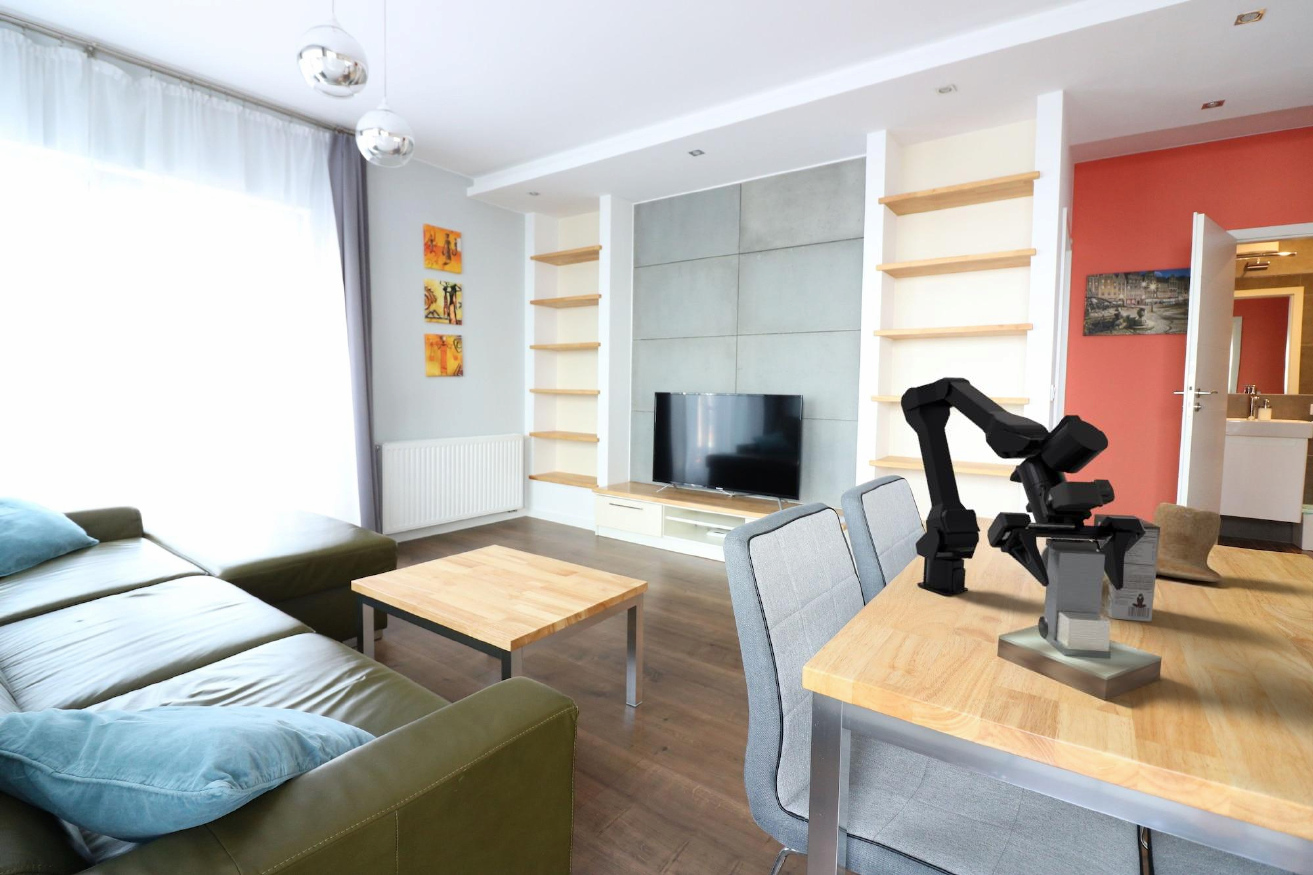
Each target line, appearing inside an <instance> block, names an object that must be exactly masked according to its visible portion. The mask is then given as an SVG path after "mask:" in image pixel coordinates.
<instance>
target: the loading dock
mask: <svg viewBox="0 0 1313 875" xmlns="http://www.w3.org/2000/svg"><path fill="white" fill-rule="evenodd" d="M997 643H998V644H997V657H1000V658H1001V659H1004V660H1006V661H1010V662H1011V663H1014V664H1016V665H1019V666H1021V667H1024V668H1026V669H1027V670H1031V671H1033V672H1036V673H1038V674H1041V675H1042V676H1045V677H1048V678H1049V679H1052V680H1055V681H1057V682H1060V683H1062V684H1065V685H1066V686H1069V687H1071V688H1074V689H1077V690H1078V691H1081V692H1083V693H1086V694H1088V695H1091V696H1093V697H1096V698H1098V699H1101V700H1103V701H1108V700H1109V699H1113V698H1115V697H1117V696H1119V695H1122V694H1125V693H1127V692H1130V691H1132V690H1133V691H1134V690H1135V689H1138V688H1140V687H1143V686H1145V685H1147V684H1150V683H1153V682H1156V681H1158V680H1160V679H1161V671H1162V670H1161V669H1162V668H1161V667H1162V660H1163V659H1162V656H1159V655H1156V654H1154V653H1151V652H1149V651H1145V650H1142V649H1139V648H1135V647H1133V646H1130V645H1128V644H1123V643H1121V642H1118V641H1115V640H1113V639H1109V650H1110V651H1111V657H1110V659H1104V658H1089V657H1074V656H1064V655H1063V654H1061V653H1060V652H1059V651H1058V650H1057V649H1055V648H1054V647H1053V646H1052V645H1051V644H1049V643H1048V642H1047V641H1046V639H1044V638H1042V637H1041V635H1040V633H1039V629H1038V624H1037V625H1033V626H1029V627H1028V626H1027V627H1024V628H1020V629H1018V630H1015V631H1010V632H1006V633H1002V634H999V635H998V642H997Z"/></svg>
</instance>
